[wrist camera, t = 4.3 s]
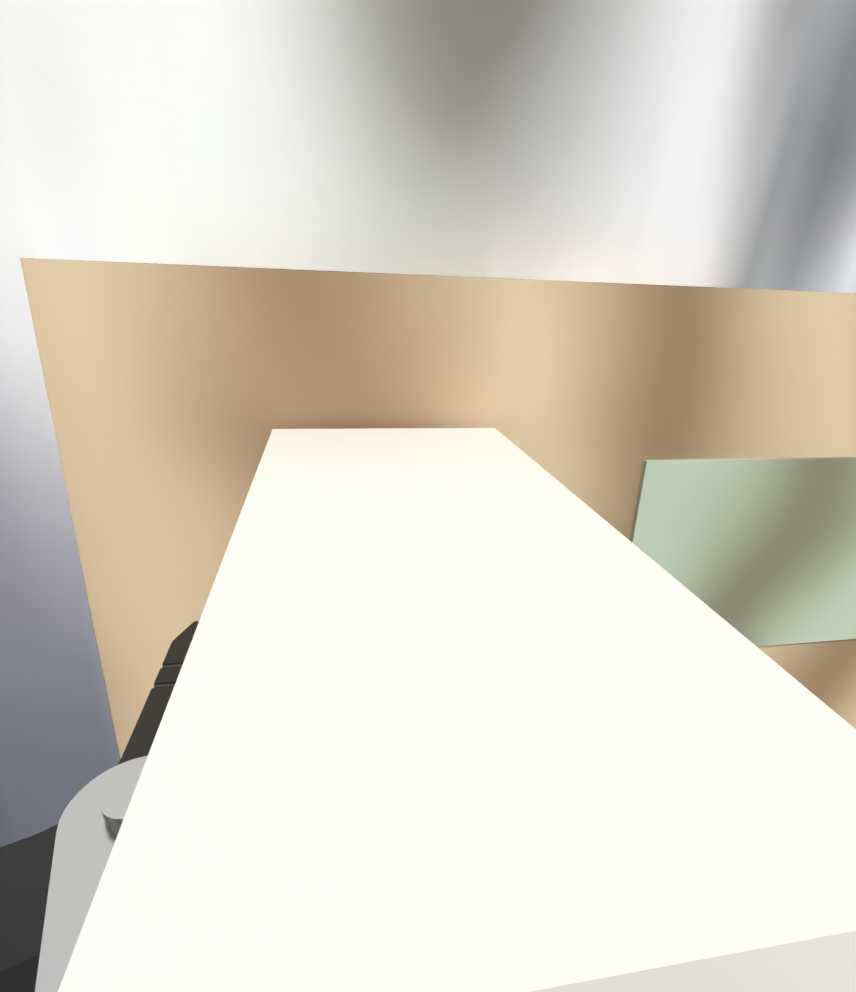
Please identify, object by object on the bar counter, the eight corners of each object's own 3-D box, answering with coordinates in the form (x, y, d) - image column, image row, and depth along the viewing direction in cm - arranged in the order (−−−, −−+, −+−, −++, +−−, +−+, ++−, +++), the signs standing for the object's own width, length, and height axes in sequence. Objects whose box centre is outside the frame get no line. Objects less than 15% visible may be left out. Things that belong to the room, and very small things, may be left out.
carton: (482, 694, 13) (754, 1403, 5) (289, 711, 12) (213, 1589, 4) (505, 428, 11) (1092, 888, 3) (272, 429, 10) (22, 1083, 2)
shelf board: (156, 843, 15) (109, 995, 11) (49, 261, 10) (-85, 246, 7) (870, 756, 18) (983, 853, 15) (1050, 303, 13) (1272, 306, 10)
